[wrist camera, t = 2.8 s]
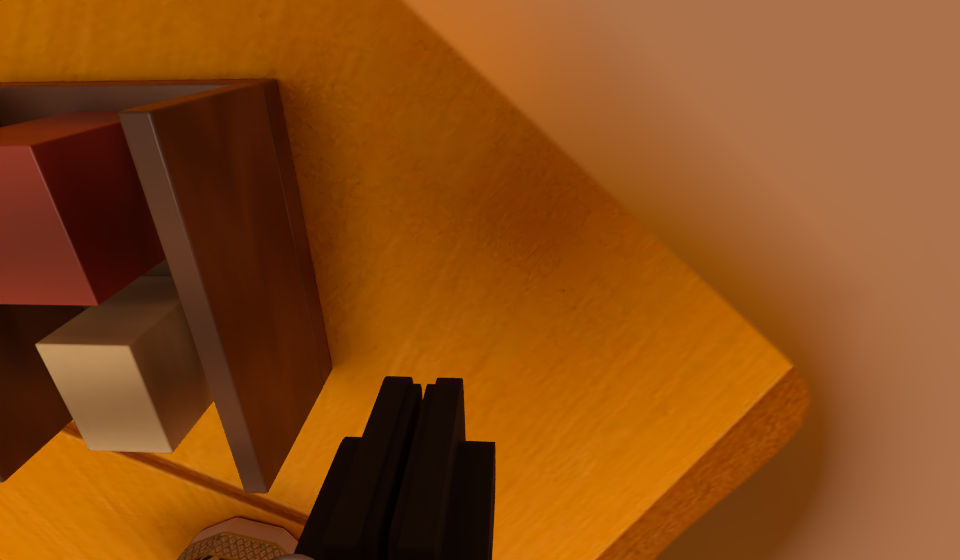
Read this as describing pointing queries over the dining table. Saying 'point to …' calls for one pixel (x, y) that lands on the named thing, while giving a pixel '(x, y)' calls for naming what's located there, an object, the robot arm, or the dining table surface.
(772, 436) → the dining table surface
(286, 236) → the open wooden box
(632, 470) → the dining table surface
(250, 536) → the ceramic cup
